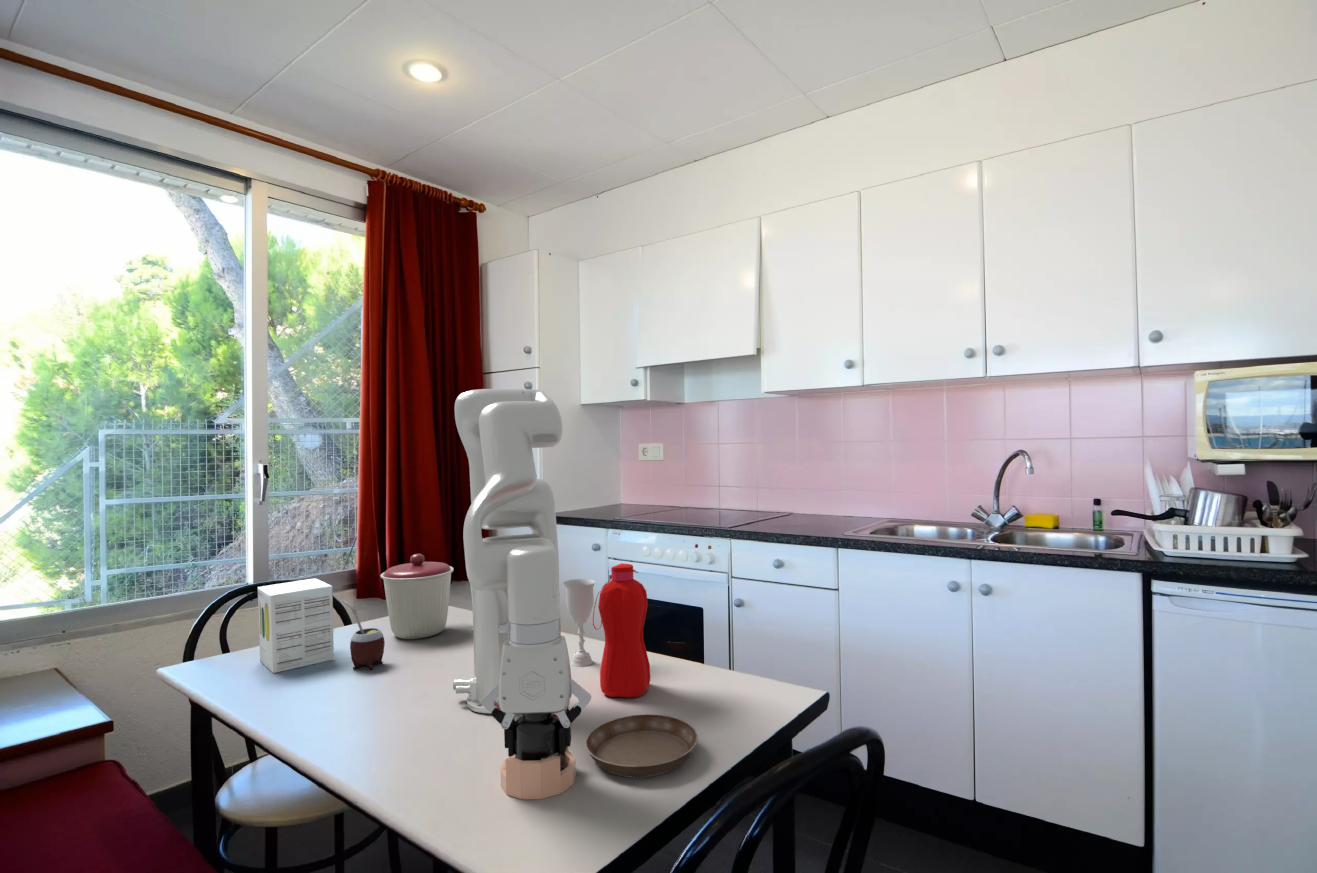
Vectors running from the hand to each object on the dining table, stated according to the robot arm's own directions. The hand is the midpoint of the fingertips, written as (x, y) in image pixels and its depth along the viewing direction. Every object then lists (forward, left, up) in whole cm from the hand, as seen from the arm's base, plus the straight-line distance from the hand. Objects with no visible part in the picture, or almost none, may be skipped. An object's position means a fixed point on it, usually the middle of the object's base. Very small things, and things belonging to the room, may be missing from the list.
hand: (538, 750), depth 98 cm
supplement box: (-68, +58, -5) cm, 90 cm away
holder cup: (0, 0, -4) cm, 4 cm away
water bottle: (+10, +34, -5) cm, 36 cm away
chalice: (0, +51, -5) cm, 51 cm away
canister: (-46, +77, -5) cm, 90 cm away
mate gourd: (-49, +52, -5) cm, 72 cm away
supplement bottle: (0, 0, -5) cm, 5 cm away
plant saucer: (+15, +7, -5) cm, 17 cm away
